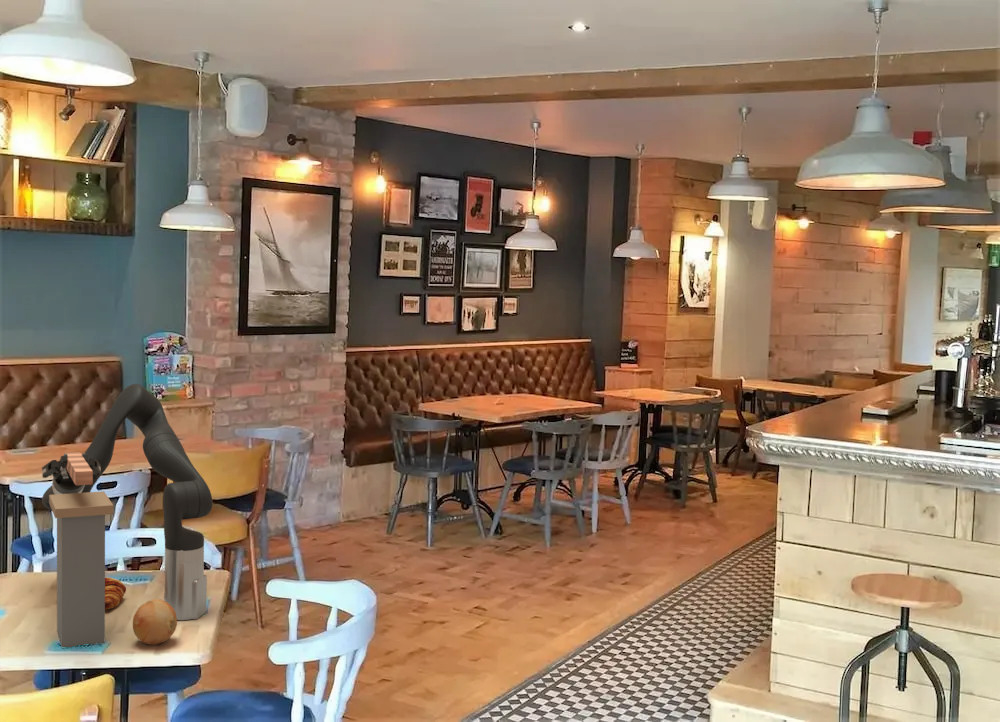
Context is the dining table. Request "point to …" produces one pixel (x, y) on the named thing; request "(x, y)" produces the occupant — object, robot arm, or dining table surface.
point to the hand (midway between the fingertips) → (75, 457)
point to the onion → (154, 622)
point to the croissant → (113, 592)
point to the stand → (80, 566)
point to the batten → (79, 469)
